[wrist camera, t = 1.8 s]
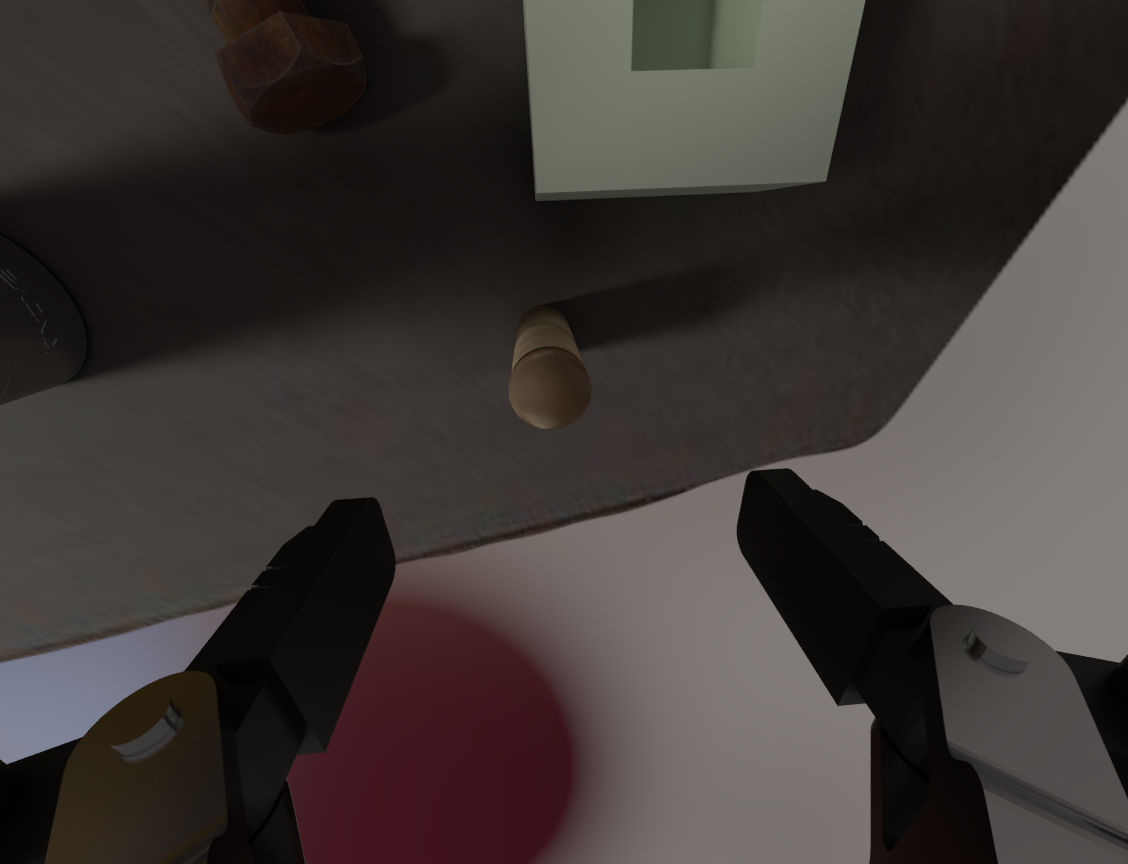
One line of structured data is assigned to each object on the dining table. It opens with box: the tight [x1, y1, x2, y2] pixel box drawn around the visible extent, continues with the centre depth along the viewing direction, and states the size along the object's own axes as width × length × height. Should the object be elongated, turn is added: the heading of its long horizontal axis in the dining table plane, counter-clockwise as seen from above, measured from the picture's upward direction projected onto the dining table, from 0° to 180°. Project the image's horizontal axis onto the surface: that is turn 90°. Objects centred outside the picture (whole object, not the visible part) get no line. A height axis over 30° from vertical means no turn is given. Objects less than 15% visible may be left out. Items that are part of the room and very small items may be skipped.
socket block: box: [523, 0, 865, 201], centre depth 16 cm, size 12×12×6 cm
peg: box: [509, 306, 591, 429], centre depth 20 cm, size 3×3×10 cm
